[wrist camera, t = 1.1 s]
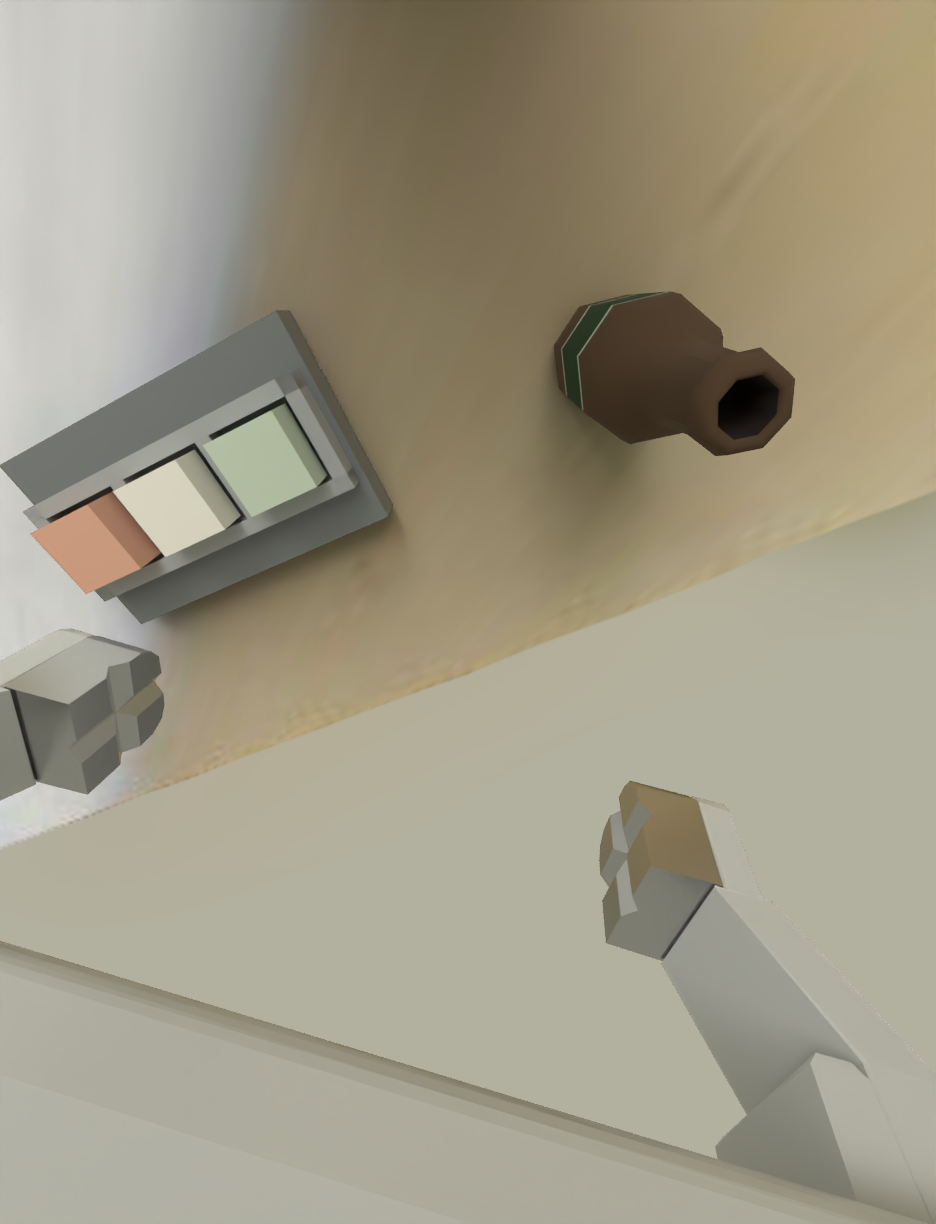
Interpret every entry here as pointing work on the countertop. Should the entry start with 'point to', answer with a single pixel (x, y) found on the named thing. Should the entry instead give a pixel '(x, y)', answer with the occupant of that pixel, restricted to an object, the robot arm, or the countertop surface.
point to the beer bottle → (670, 375)
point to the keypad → (211, 462)
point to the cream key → (178, 504)
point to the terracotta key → (97, 543)
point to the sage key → (267, 460)
